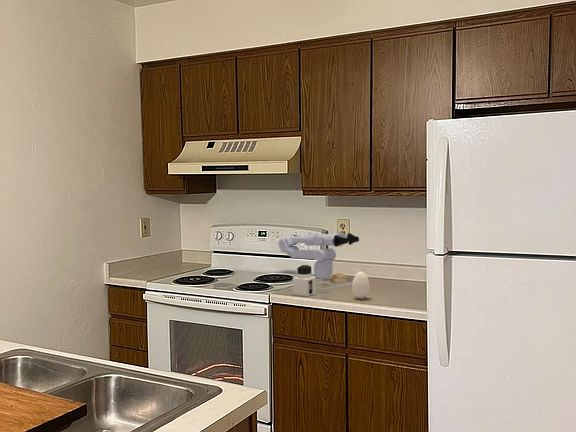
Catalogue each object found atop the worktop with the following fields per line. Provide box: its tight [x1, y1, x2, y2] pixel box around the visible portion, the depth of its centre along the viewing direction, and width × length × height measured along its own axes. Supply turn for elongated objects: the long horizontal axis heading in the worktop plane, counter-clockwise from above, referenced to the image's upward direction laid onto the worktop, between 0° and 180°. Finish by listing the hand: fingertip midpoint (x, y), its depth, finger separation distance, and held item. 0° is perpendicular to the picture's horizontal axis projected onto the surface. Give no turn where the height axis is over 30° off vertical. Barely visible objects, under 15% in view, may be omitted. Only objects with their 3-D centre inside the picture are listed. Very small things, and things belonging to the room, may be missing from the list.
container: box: [292, 264, 317, 297], centre depth 271 cm, size 8×8×13 cm
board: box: [316, 280, 353, 290], centre depth 290 cm, size 14×21×1 cm, turn 131°
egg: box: [351, 271, 371, 300], centre depth 260 cm, size 7×7×12 cm
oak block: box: [329, 272, 348, 284], centre depth 293 cm, size 6×6×4 cm
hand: (353, 240), depth 292 cm, fingers open, 7 cm apart
